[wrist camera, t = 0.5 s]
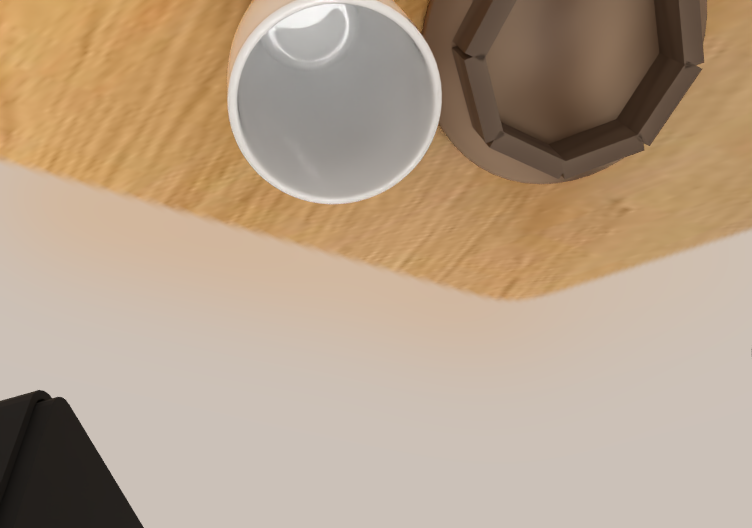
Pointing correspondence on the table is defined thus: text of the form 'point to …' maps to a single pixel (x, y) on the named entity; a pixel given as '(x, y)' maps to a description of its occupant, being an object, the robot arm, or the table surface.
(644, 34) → the glass holder
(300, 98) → the drinking glass
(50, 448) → the robot arm
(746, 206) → the table surface
